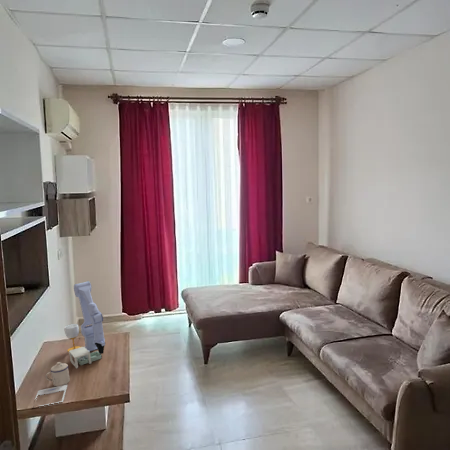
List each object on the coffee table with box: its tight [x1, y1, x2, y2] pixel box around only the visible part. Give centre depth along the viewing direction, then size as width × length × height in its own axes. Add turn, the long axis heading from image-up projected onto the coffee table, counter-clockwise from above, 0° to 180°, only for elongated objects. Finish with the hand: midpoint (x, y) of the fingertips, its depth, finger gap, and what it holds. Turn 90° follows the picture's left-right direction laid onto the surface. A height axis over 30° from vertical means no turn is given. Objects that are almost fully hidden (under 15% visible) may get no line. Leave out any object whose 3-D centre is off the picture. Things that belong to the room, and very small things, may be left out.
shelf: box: [68, 345, 92, 369], centre depth 252 cm, size 13×9×7 cm
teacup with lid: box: [45, 361, 70, 387], centre depth 228 cm, size 12×9×12 cm
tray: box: [77, 350, 103, 366], centre depth 255 cm, size 8×13×4 cm, turn 125°
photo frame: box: [34, 384, 68, 407], centre depth 215 cm, size 15×1×18 cm
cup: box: [64, 323, 81, 353], centre depth 273 cm, size 9×9×16 cm
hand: (101, 353), depth 260 cm, fingers closed, pressing on tray
